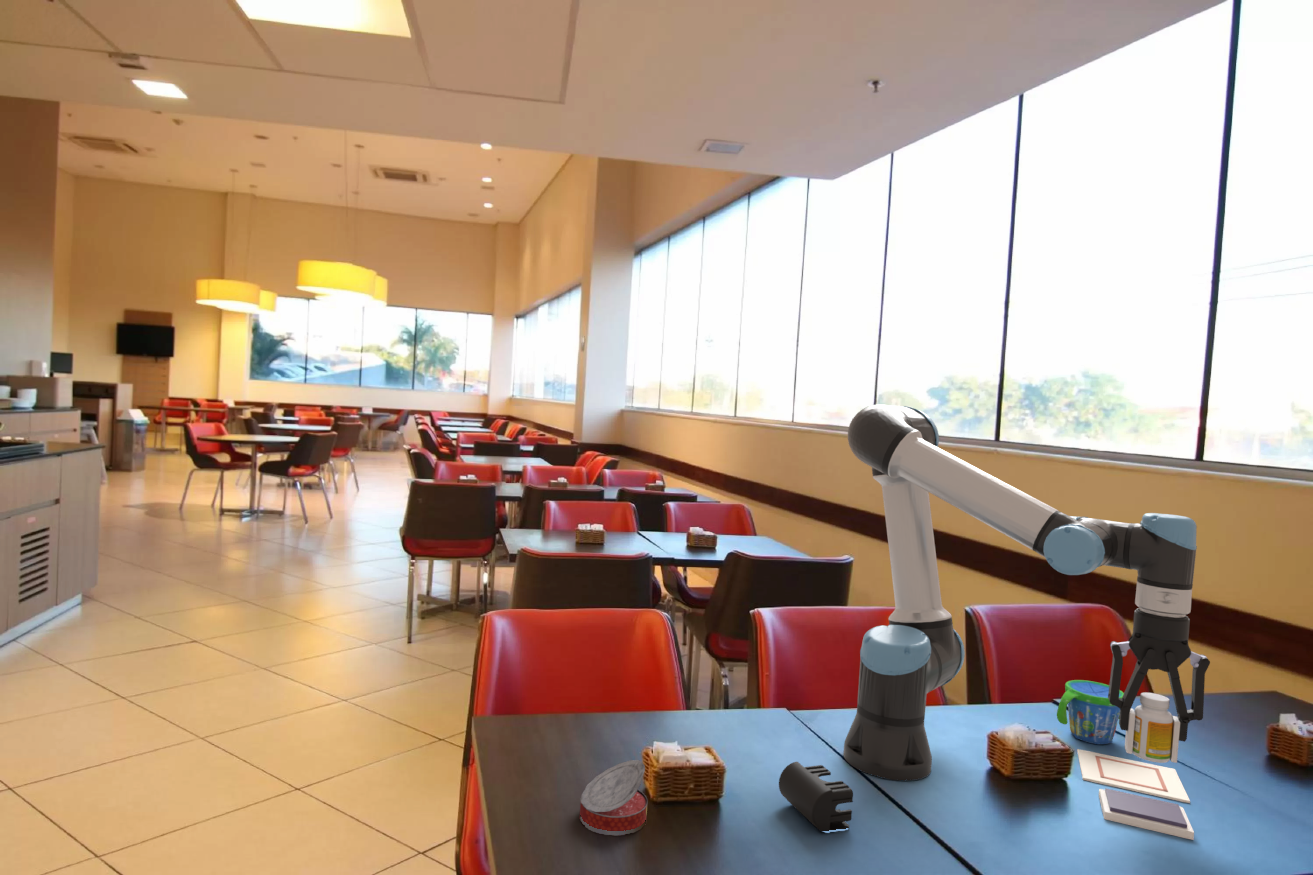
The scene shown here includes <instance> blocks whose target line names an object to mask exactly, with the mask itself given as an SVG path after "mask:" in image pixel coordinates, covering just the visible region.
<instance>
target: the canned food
mask: <svg viewBox="0 0 1313 875" xmlns="http://www.w3.org/2000/svg"><path fill="white" fill-rule="evenodd" d="M645 767H646V766H645V764H644V763H643V762H642V761H641V760H639V759H634V760H633V759H630V760H627V761H624V762H623V761H622V762H619V763H618V764H616V765H613V766H612V767H609V768H607V769H606V770H604V771H603V772H601V773H600V774H597V775H596V776H595V777H594V778H593V779H592V780H591V781H590V782H589V783H587V785H586V786H585V788H584V790H583V792H582V793H581V796H580V805H579V808H580V809H579V816H580V815H581V817H582V819H583V821H584V822H586V823H587V824H589V826H592V827H594V828H597V829H602V830H607V831H624V830H625V831H626V830H631V829H635V828H637V827H639V826H641V825H642V824H643V823H644V822H645V820H646V821H647V815H648V814H647V813H648V812H647V811H648V804H649V803H648V801H649V800H648V798H647V795H645V793H643V791H641V790H640V787H641V785H642V780H643V777H644V774H645V771H646V768H645Z"/></svg>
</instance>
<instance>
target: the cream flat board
mask: <svg viewBox="0 0 1313 875" xmlns="http://www.w3.org/2000/svg"><path fill="white" fill-rule="evenodd" d="M1076 752H1077V758H1078V763H1079V767H1080V772H1081V777H1082V780H1083V781H1087V782H1090V783H1091V782H1092V783H1096V784H1101V785H1104V786H1110V787H1114V788H1117V789H1119V788H1120V789H1123V790H1128V791H1131V792H1137V793H1140V794H1141V793H1142V794H1145V795H1146V794H1147V795H1151V796H1153V797H1154V796H1155V797H1160V798H1164V799H1169V800H1171V801H1172V800H1173V801H1177V802H1181V803H1187V804H1191V800H1190V798H1189V795H1188V794H1187V791H1186V790H1185V787H1184V785H1183V783H1182V781H1181V779H1180V777H1179V775H1178V773H1177V770H1176V769H1175V768H1171V767H1166V766H1162V765H1158V764H1157V765H1156V764H1152V763H1149V762H1148V763H1147V762H1142V761H1138V760H1133V759H1129V758H1123V757H1119V756H1118V757H1117V756H1112V755H1109V754H1104V753H1099V752H1094V751H1089V750H1085V749H1081V748H1080V749H1079V748H1077V749H1076Z"/></svg>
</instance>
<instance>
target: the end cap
mask: <svg viewBox="0 0 1313 875" xmlns="http://www.w3.org/2000/svg"><path fill="white" fill-rule="evenodd" d="M831 774H832V772H831V771H830V770H828V769H827V768H826V766H824V765H822V764H820V765H811V766H803V765H802V764H801V763H800V762H799V761H794V762H792V763H790V764H788V765H787V766H785V767H784V769H783V770H782V772H781V773H780V776H779V780H778V789H779V792H780V794H781V795H782V797H783V798H784V799H786V801H787V802H789V804H790V805H792V806H793V808H795V809H796V810H797V811H798V812H799V813H800V815H802V816H804V817H805V819H807V820H808V821H809V822H810V824H812V825H813V826H814V827H815V828H816V829H817V830H818V831H819V832H821V831H829V830H836V829H846V828H849V829H850V825H849V824H848V823H847V822H850V821H851V820H852V816H853V815H852V814H853V810H852V809H843V810H841V809H836V808H837V806H838V805H840V804H847V803H848V804H849V803H853V802H854V801H853V800H854V791H853V789H852V788H851V787H850V786H849V785H847V784H846V783H845V782H844V781H843V780H838V781H826V780H823V779H821V778H820V777H824V776H825V777H828V776H831Z"/></svg>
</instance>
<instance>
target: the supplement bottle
mask: <svg viewBox="0 0 1313 875" xmlns="http://www.w3.org/2000/svg"><path fill="white" fill-rule="evenodd" d="M1139 696H1140V697H1139V703H1140V705H1137V706H1136V707H1135V708H1134V709H1133V710H1134V712H1135V725H1134V737H1133V749H1132V755H1134V756H1136V757H1137V758H1140V759H1141V760H1145V761H1149V762H1153V763H1157V764H1158V763H1159V764H1165V763H1168V762H1170V761H1171V760H1170V756H1171V742H1172V730H1173V716H1174V715H1172V713H1171V712H1170V711H1169V709H1170V704H1171V703H1170V698H1168V697H1167V696H1164V695H1162V694H1158V693H1154V692H1141V693H1140V695H1139Z"/></svg>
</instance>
